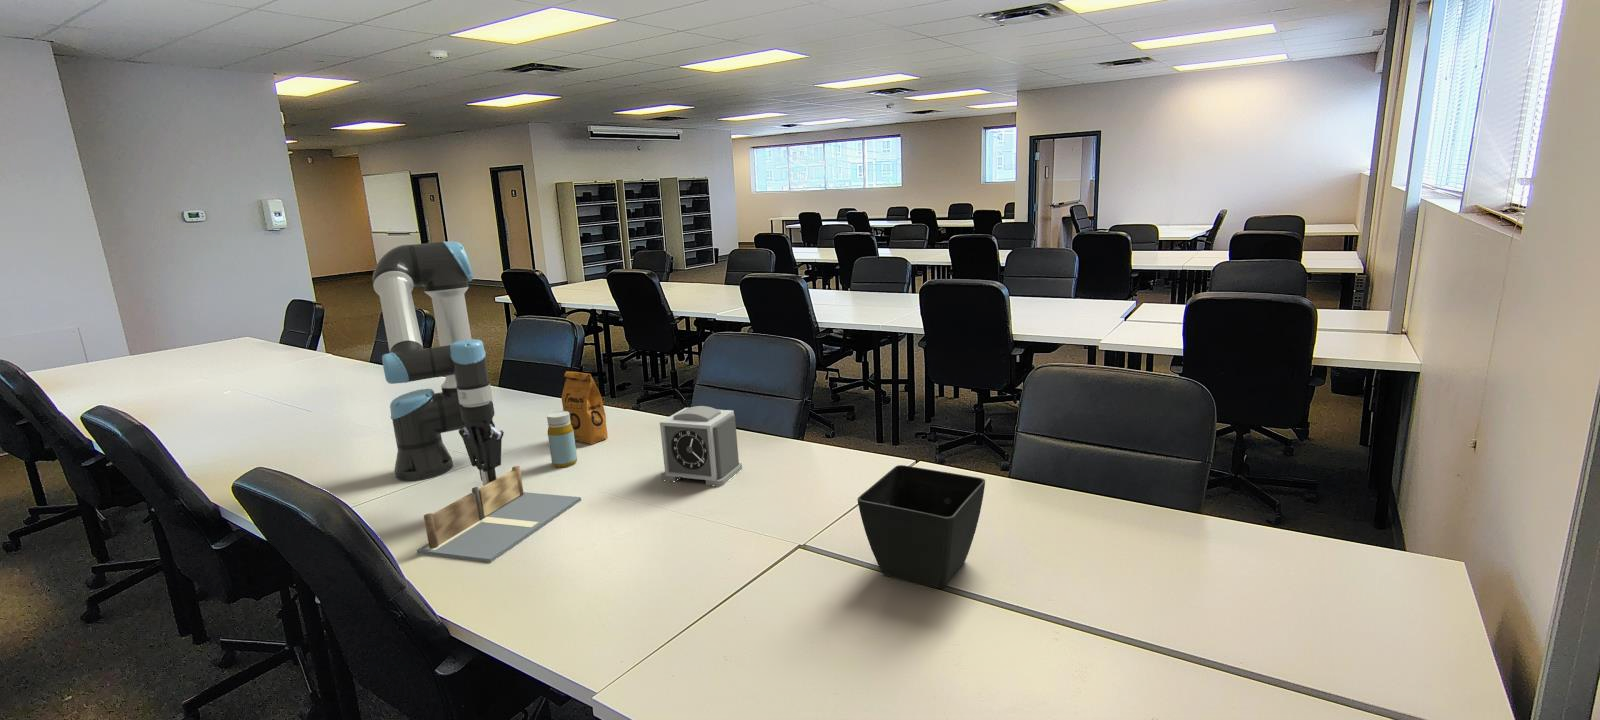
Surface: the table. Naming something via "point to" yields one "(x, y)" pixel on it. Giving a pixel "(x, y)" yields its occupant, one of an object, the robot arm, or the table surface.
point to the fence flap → (501, 491)
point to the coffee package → (584, 407)
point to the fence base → (453, 518)
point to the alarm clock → (700, 445)
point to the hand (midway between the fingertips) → (490, 493)
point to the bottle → (561, 439)
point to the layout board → (503, 527)
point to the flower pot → (921, 522)
